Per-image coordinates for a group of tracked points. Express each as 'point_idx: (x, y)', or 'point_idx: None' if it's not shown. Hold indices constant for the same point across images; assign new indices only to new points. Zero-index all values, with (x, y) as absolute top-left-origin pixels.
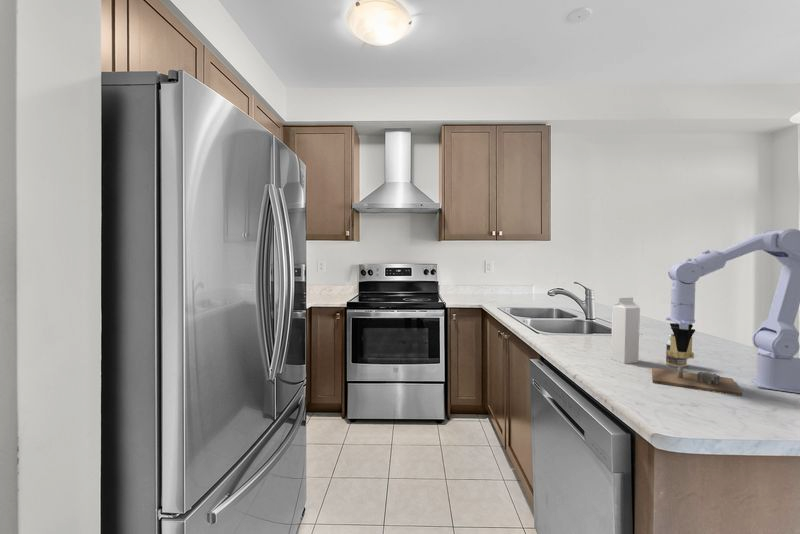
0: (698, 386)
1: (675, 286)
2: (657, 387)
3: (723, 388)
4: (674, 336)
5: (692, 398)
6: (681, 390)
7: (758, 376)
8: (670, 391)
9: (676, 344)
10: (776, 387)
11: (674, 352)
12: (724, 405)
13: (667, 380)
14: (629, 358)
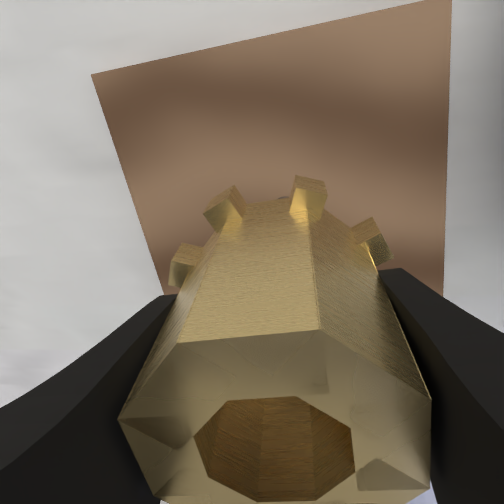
0: (164, 294)
1: None
2: (30, 117)
3: None
4: (148, 380)
5: (7, 272)
6: (86, 226)
7: (428, 496)
8: (21, 185)
9: (110, 334)
10: None
11: (201, 255)
12: (30, 361)
13: (155, 155)
14: None
